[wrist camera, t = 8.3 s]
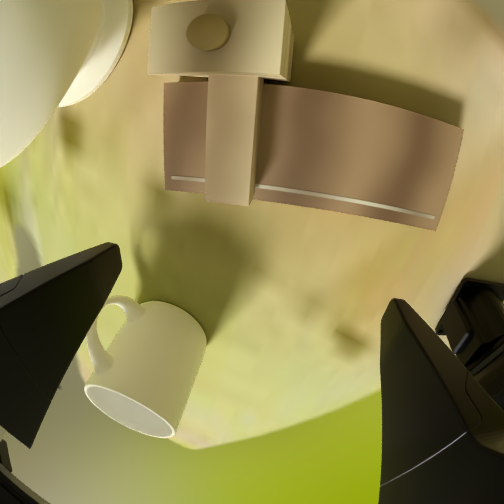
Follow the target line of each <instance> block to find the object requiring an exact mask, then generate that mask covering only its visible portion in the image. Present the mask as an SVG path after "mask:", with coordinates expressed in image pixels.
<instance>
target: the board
mask: <svg viewBox="0 0 504 504" xmlns="http://www.w3.org/2000/svg"><path fill="white" fill-rule="evenodd" d="M207 97H208V82H173V83H164V171H165V190H173V191H184V192H194V193H204V194H205V159H206V121H207ZM463 131H464V129H461V128H459V127H456V126H453V125H451V124H448V123H445V122H443V121H440V120H437V119H434V118H431V117H428V116H425V115H422V114H419V113H416V112H413V111H409V110H406V109H402V108H399V107H395V106H392V105H388V104H384V103H380V102H376V101H372V100H368V99H363V98H359V97H354V96H349V95H344V94H339V93H333V92H327V91H321V90H315V89H308V88H300V87H292V86H283V85H273V84H263V95H262V107H261V120H260V132H259V145H258V157H257V170H256V183H255V194H254V196H253V198H252V199H254V200H262V201H269V202H277V203H284V204H291V205H297V206H304V207H310V208H317V209H323V210H329V211H335V212H341V213H347V214H352V215H358V216H364V217H369V218H374V219H380V220H385V221H390V222H395V223H400V224H405V225H410V226H414V227H419V228H424V229H428V230H433V231H436V229H437V226H438V224H439V221H440V218H441V215H442V212H443V209H444V205H445V202H446V199H447V196H448V192H449V189H450V185H451V182H452V178H453V175H454V171H455V167H456V163H457V159H458V154H459V150H460V145H461V141H462V136H463Z"/></svg>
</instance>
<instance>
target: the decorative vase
mask: <svg viewBox="0 0 504 504" xmlns="http://www.w3.org/2000/svg"><path fill="white" fill-rule="evenodd" d="M132 18H133V0H0V167H2V166H4V165H5V164H7V163H8V162H10V161H11V160H12V159H14V158H15V157H16V156H17V155H19V154H20V153H21V152H22V151H23V150H24V149H25V148H26V147H27V146H28V145H29V144H30V143H31V142H32V141H33V139H34V138H35V137H36V136H37V135H38V133H39V132H40V131H41V130H42V128H43V127H44V126H45V124H46V123H47V122H48V120H49V119H50V117H51V116H52V114H53V113H54V111H55V110H56V108H57V107H64V106H68V105H72V104H75V103H78V102H80V101H82V100H84V99H85V98H87V97H88V96H90V95H91V94H92V93H93V92H95V91H96V90H97V89H98V88H99V87H100V86H101V85H102V84H103V82H104V81H105V80H106V79H107V78H108V76H109V75H110V73H111V72H112V71H113V69H114V67H115V66H116V64H117V62H118V61H119V59H120V57H121V55H122V53H123V50H124V48H125V45H126V43H127V40H128V37H129V33H130V29H131V25H132Z"/></svg>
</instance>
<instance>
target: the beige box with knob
mask: <svg viewBox="0 0 504 504" xmlns="http://www.w3.org/2000/svg"><path fill="white" fill-rule="evenodd" d="M293 45H294V34H293V29H292V25H291V20H290V15H289V11H288V7H287V2H286V0H197V1H188V2H180V3H173V4H166V5H160V6H155V7H152V11H151V21H150V32H149V46H148V65H147V75H177V76H195V77H208V97H207V121H206V159H205V201H207V202H215V203H224V204H232V205H240V206H247V207H249V204H250V202H251V200H252V198H253V196H254V194H255V183H256V170H257V157H258V145H259V132H260V120H261V107H262V95H263V82H264V80H275V81H285V82H290V79H291V68H292V57H293Z"/></svg>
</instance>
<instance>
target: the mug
mask: <svg viewBox="0 0 504 504" xmlns="http://www.w3.org/2000/svg"><path fill="white" fill-rule="evenodd" d="M109 304H116V305H118V306H120V307H121V308H122V309H123V311H124V313H125V315H126V318H127V319H126V321H125V322H124V324H123V325H122V327H121V328H120V330H119V331H118V333H117V334H116V336H115V338H114V339H113V341H112V342H111V344H110V345H109V347H108V349H107V350H105V349H104V347H103V346H102V344H101V342H100V340H99V338H98V334H97V327H96V324H97V318H98V316H97V318H96V319H95V321H94V323H93V324H92V326H91V328H90V329H89V331H88V333H87V335H86V337H87V347H88V352H89V355H90V358H91V361H92V364H93V366H94V369H95V370H94V371H93V373H92V375H91V377H90V378H89V380H88V382H87V383H86V385H85V387H84V390H85V393H86V395H87V397H88V398H89V399H90V401H91V402H92V403H93V404H94V405H95V406H96V407H97V408H98V409H100V410H101V411H102V412H103V413H105V414H106V415H108V416H109V417H110V418H112V419H114V420H115V421H117V422H119V423H120V424H122V425H124V426H126V427H128V428H130V429H133V430H135V431H138V432H140V433H143V434H146V435H150V436H154V437H159V438H170V437H173V436H174V435H175V433H176V431H177V428H178V425H179V422H180V420H181V417H182V414H183V411H184V409H185V406H186V403H187V400H188V398H189V395H190V392H191V389H192V387H193V384H194V381H195V378H196V376H197V373H198V370H199V367H200V365H201V362H202V359H203V356H204V353H205V350H206V343H207V342H206V336H205V333H204V331H203V329H202V327H201V326H200V324H199V323H198V322H197V321H196V320H195V319H194V318H193V317H192V316H191V315H190V314H188V313H187V312H186V311H184V310H182V309H181V308H179V307H177V306H174V305H172V304H169V303H165V302H160V301H148V302H144V303H142V304H139V303H137V302H136V301H135V300H133V299H131V298H130V297H127V296H122V295H116V296H111V297H109V298H107V300H106V302H105V304H104V306H103V307H105V306H106V305H109Z"/></svg>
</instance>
